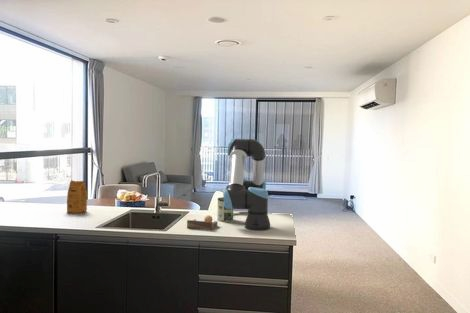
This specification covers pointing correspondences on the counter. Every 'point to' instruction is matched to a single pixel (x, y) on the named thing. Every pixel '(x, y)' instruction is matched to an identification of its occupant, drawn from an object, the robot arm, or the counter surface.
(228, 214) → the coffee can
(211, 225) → the brown wooden tray
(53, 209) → the counter surface
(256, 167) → the robot arm
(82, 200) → the coffee package
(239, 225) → the counter surface
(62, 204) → the counter surface
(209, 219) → the ball
